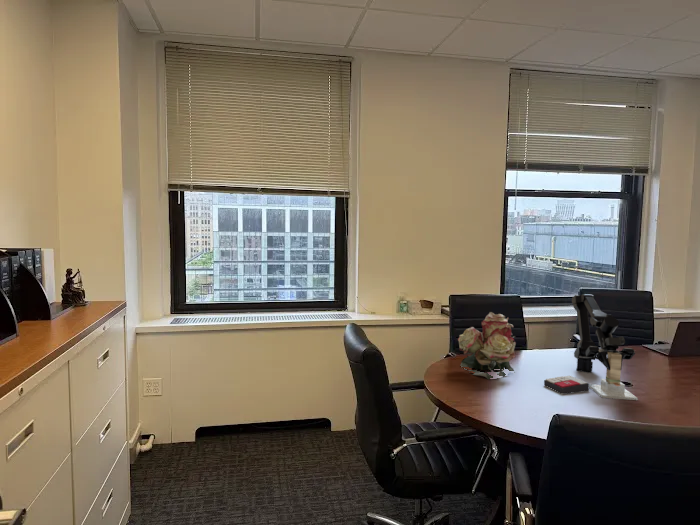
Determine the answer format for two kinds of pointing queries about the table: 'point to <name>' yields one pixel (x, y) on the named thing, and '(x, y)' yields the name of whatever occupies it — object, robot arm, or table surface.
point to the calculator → (567, 384)
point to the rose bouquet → (488, 346)
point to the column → (614, 368)
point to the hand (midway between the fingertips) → (615, 370)
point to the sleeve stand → (612, 390)
